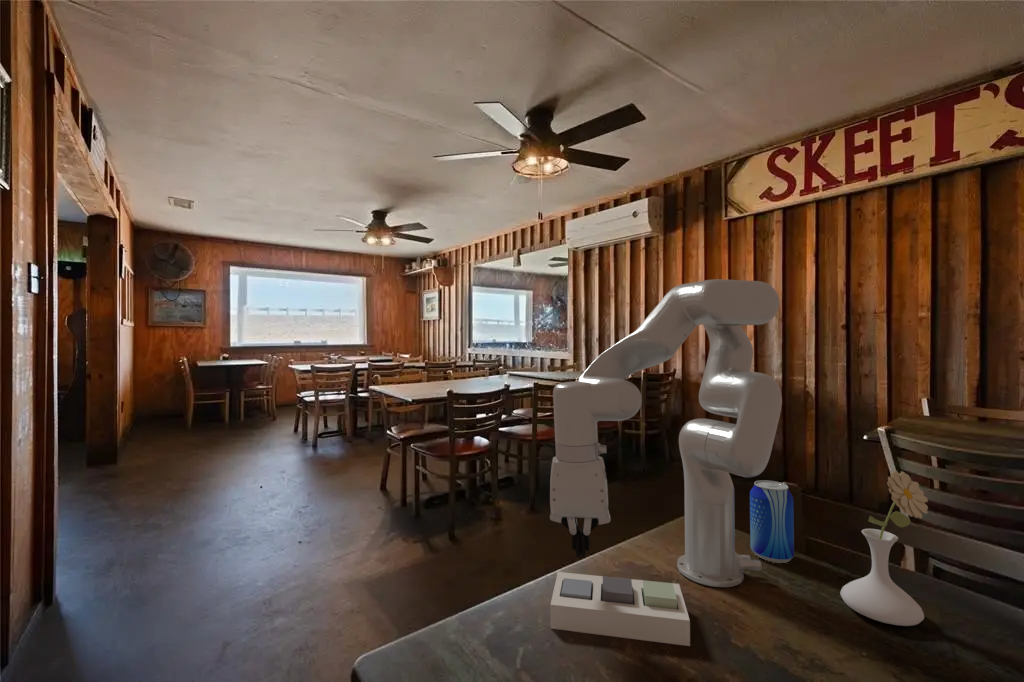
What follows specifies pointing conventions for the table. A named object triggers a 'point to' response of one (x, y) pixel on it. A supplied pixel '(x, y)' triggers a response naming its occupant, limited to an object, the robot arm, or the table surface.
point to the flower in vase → (877, 589)
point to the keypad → (619, 614)
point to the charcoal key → (617, 590)
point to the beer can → (772, 521)
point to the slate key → (577, 589)
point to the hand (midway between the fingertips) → (581, 553)
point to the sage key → (659, 595)
